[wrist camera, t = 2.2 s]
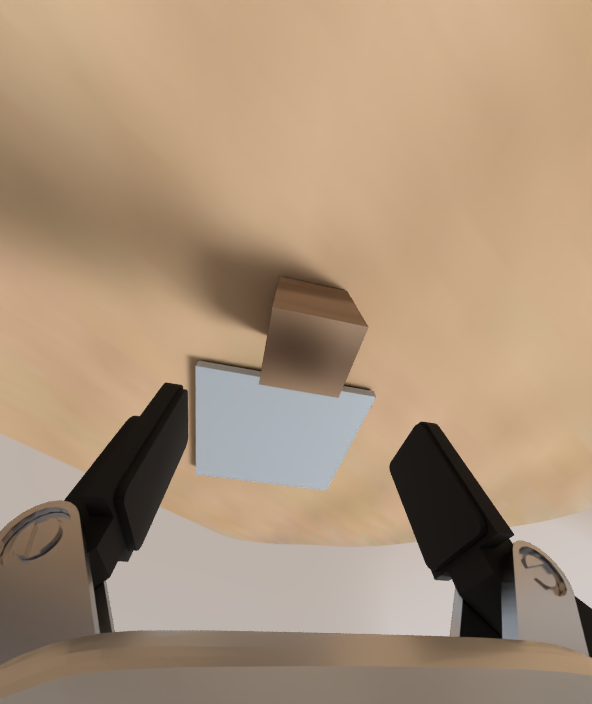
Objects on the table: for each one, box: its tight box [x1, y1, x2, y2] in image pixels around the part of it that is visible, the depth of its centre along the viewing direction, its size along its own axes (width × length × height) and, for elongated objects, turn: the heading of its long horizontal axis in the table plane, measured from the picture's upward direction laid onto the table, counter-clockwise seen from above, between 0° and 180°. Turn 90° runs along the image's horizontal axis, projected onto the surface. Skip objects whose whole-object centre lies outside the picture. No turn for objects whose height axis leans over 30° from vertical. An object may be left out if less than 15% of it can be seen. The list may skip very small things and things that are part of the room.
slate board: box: [196, 361, 376, 490], centre depth 25 cm, size 16×16×1 cm
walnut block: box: [259, 276, 368, 398], centre depth 16 cm, size 5×5×6 cm
